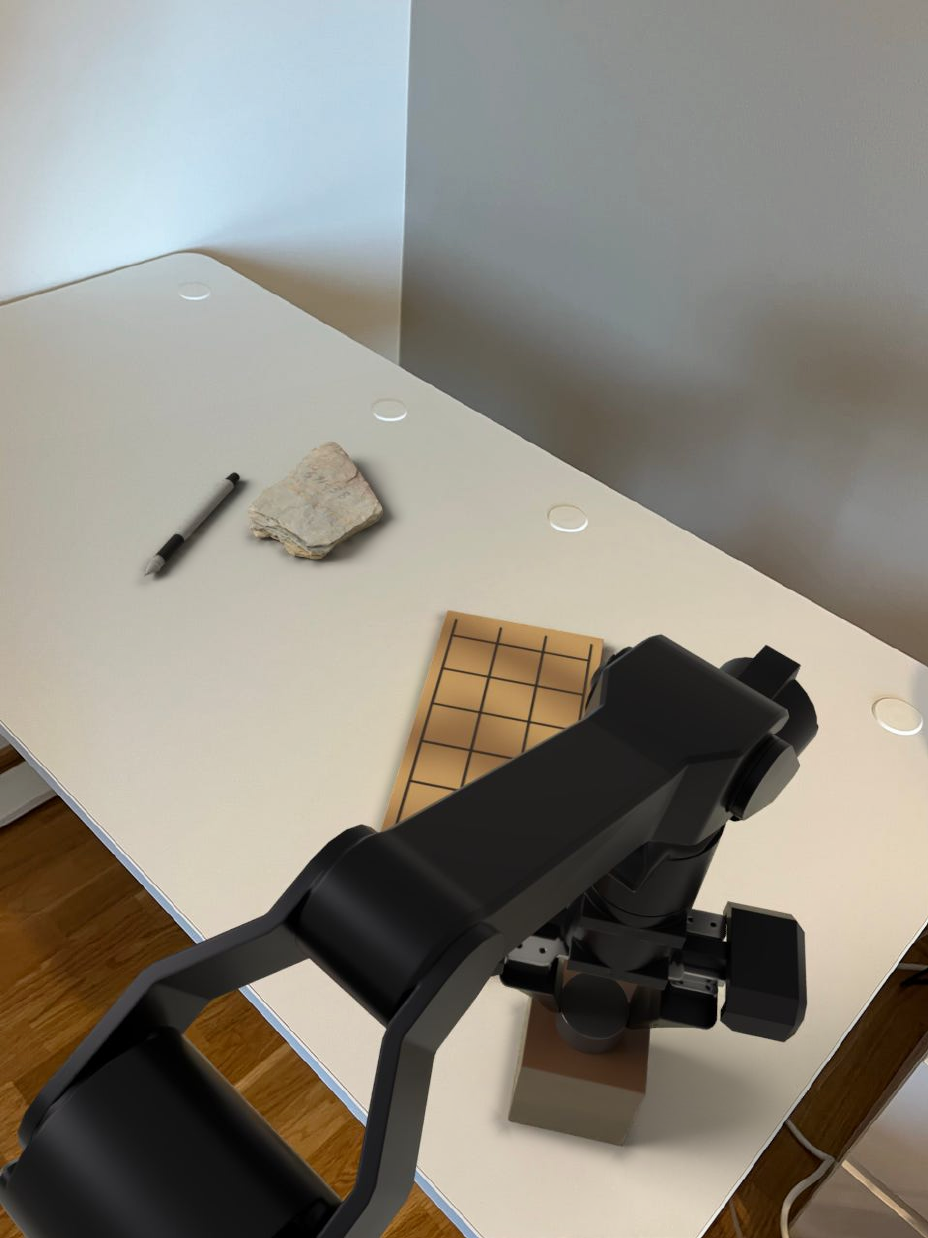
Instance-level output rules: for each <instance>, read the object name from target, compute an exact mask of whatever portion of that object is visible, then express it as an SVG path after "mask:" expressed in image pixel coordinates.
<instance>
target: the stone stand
mask: <svg viewBox="0 0 928 1238" xmlns="http://www.w3.org/2000/svg"><path fill="white" fill-rule="evenodd" d="M567 964H568V959H564V979H563V986H564V985H565V983H566V982H567V981H568V980H569V979H570V978H572V977H573V976H575V975H577V974H579V973H581V972H576V971H571V970H567ZM615 981H617V982H618V983H619V984H620V985H621V987H622V988H623V989H624V991H625V993H626V995H627V997H628V1000H629V1004H630V1000H631V997H632V995H633V993H634V991H635V989H636V987H637V984H632V983H627V982H623V981H618V980H615ZM562 988H563V987H562ZM520 1035H521V1036H520V1041H519V1048H518V1054H517V1059H516V1067H515V1072H514V1077H513V1083H512V1084H513V1085H512V1090H511V1096H510V1103H509V1108H508V1114H507V1115H508V1116H507V1120H508V1121H510V1122H514V1123H518V1124H523V1125H527V1126H532V1127H537V1128H541V1129H544V1130H548V1131H549V1130H550V1131H553V1132H558V1133H562V1134H567V1135H570V1136H575V1137H579V1138H585V1139H589V1140H593V1141H597V1142H602V1143H606V1144H610V1145H614V1146H619V1147H622V1145H623V1143H624V1141H625V1139H626V1137H627V1134H628V1132H629V1130H630V1128H631V1127H632V1124H633V1121H634V1120H635V1118H636V1115H637V1113H638V1111H639V1108H640V1107H641V1105H642V1102H643V1100H644V1098H645V1095H646V1093H647V1080H648V1068H649V1056H650V1055H649V1053H650V1041H651V1029H636V1030H631V1029H627V1028H626V1027H625V1030H624V1032H623V1035H622V1037H621V1039H620V1041H619V1042H618V1043H617V1045H616V1046H615V1047H613V1048H612V1049H610V1050H609V1051H607V1052H604V1053H600V1054H587V1053H583V1052H580V1051H578V1050H576V1049H574V1048H572V1047H571V1046H570V1045H568V1044H567V1043H566V1042H565V1040H564V1039H563V1038H562V1037H561V1035H560V1033H559V1031H558V1029H557V1026H556V1021H555V1013H553V1012H550V1011H549V1010H548V1009H546V1008H545V1007H544V1006H543V1005H541V1004H540V1003H539V1002H537V1001H536V1000H534V999H533V998H531V997H529V996H528V999H527V1003H526V1007H525V1011H524V1017H523V1024H522V1028H521V1034H520Z"/></svg>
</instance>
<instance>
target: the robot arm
mask: <svg viewBox="0 0 928 1238" xmlns="http://www.w3.org/2000/svg"><path fill="white" fill-rule="evenodd" d="M801 667H802V664H801V663H799V662H797V661H796V660H793V659H792V658H790V657H788V656H787V655H785V654H783V653H782V652H780V651H778V650H776V649H775V648H773V647H771V646H770V645H769V644H765V645H764V646H763V647H761V649H760V650H759V651H758V652H757V653H756V654H755V655H754V657H750V656H742V657H734V658H732V659H729V660H728V661H725V662H724V663H723V664H722V665H721V666H720V667H717V666H715V665H714V664H712V663H710V662H709V661H707V660H705V659H704V658H702V657H701V656H699V655H697V654H696V653H694V652H692V651H691V650H689V649H688V648H685V647H684V646H682V645H681V644H678V643H677V642H675V641H674V640H672V639H671V638H669V637H668V636H666V635H664V634H662V633H659V634H655V635H652V636H649V637H647V638H645V639H643V640H642V641H640V642H638V644H636V645H634V646H633V647H632V646H630V645H629V646H626V647H623V648H622V649H621V650H620V651H618V652H617V653H616V654H615V653H613V654H611V655H610V657H609V658H608V659H607V661H606V662H602V664H601V663H600V666H599V667H598V668H597V670H596V671H595V673H594V674H593V676H592V678H591V681H590V690H591V691H590V693H589V695H588V698H587V701H586V705H585V714H584V716H583V718H582V719H581V720H579V721H577V722H576V723H574V724H572V725H570V726H569V727H567V728H565V729H563V730H562V731H560V732H558V733H556V734H554V735H553V736H551V737H549V738H547V739H546V740H544V741H542V742H540V743H539V744H537V745H535V746H533V747H531V748H530V749H528V750H526V751H524V752H523V753H521V754H519V755H517V756H515V757H514V758H512V759H510V760H508V761H507V762H505V763H503V764H501V765H500V766H498V767H496V768H494V769H492V770H491V771H489V772H487V773H485V774H484V775H482V776H480V777H478V778H477V779H475V780H473V781H471V782H469V783H468V784H466V785H464V786H462V787H461V788H459V789H457V790H455V791H454V792H452V793H450V794H448V795H446V796H445V797H443V798H441V799H439V800H438V801H436V802H434V803H432V804H430V805H429V806H427V807H425V808H423V809H422V810H420V811H418V812H416V813H415V814H413V815H411V816H409V817H407V818H406V819H404V820H402V821H400V822H399V823H397V824H395V825H393V826H392V827H390V828H388V829H386V830H383V831H381V830H380V831H381V832H380V831H377V830H376V829H374V828H373V827H372V826H369V825H366V824H363V823H361V824H357V825H355V826H351V827H349V828H346V829H345V830H343V831H341V832H340V833H339V834H338V835H336V836H335V837H333V838H332V839H330V840H329V841H328V842H327V843H326V844H325V845H324V846H323V847H322V848H321V849H320V850H319V851H318V852H317V853H316V854H315V855H314V856H313V857H312V858H311V859H310V860H309V861H308V862H307V864H306V866H304V867H303V869H302V870H301V871H300V872H299V874H298V875H297V876H296V877H295V878H294V880H293V881H292V882H291V883H290V884H289V885H288V887H287V888H286V889H285V890H284V892H283V893H282V894H281V895H280V897H278V899H277V900H276V901H275V903H274V904H273V905H272V906H271V907H270V909H269V910H268V911H267V912H265V913H264V914H262V915H260V916H258V917H256V918H254V919H251V920H249V921H247V922H244V923H242V924H240V925H237V926H235V927H233V928H230V929H227V930H225V931H223V932H221V933H218V934H216V935H214V936H212V937H208V938H207V939H205V940H203V941H200V942H198V943H195V944H192V945H191V946H188V947H186V948H183V949H181V950H179V951H176V952H174V953H172V954H170V955H167V956H165V957H162V958H160V959H158V960H156V961H154V962H151V964H150V965H148V966H146V968H144V969H143V970H142V971H141V972H139V974H138V975H137V976H136V977H135V978H134V980H132V982H131V983H130V984H129V986H127V987H126V989H125V990H124V991H123V992H122V993H121V995H120V996H119V997H118V998H117V1000H116V1001H115V1002H114V1003H113V1004H112V1005H111V1007H110V1008H109V1009H108V1010H107V1011H106V1013H104V1015H103V1016H102V1017H101V1018H100V1020H98V1022H97V1023H96V1024H95V1025H94V1026H93V1028H92V1029H91V1030H90V1032H88V1034H86V1036H85V1037H84V1038H83V1039H82V1041H81V1042H80V1043H79V1044H78V1045H77V1046H76V1048H75V1049H74V1050H73V1051H72V1053H71V1054H70V1055H69V1056H68V1057H67V1058H66V1059H65V1061H64V1062H63V1063H62V1064H61V1065H60V1066H59V1068H58V1069H57V1070H56V1071H55V1073H54V1074H52V1076H51V1077H50V1078H49V1080H48V1081H47V1082H46V1083H45V1084H44V1085H43V1087H42V1088H41V1089H40V1090H39V1092H38V1093H37V1095H36V1096H35V1098H34V1099H33V1100H32V1102H31V1103H30V1105H29V1106H28V1108H27V1109H26V1110H25V1112H24V1114H23V1116H22V1119H21V1122H20V1124H19V1127H18V1128H17V1129H18V1130H17V1140H18V1146H19V1148H21V1150H22V1152H21V1154H20V1156H18V1157H16V1158H14V1159H12V1160H10V1161H9V1162H7V1163H5V1164H4V1165H3V1167H1V1169H0V1205H1V1207H2V1208H3V1210H4V1212H5V1213H6V1214H7V1215H8V1216H9V1217H10V1219H11V1220H12V1222H13V1223H14V1224H15V1226H16V1227H17V1229H18V1230H19V1231H20V1232H21V1234H22V1235H23V1236H24V1237H25V1238H381V1237H382V1236H383V1234H384V1233H385V1231H386V1230H387V1229H388V1227H389V1226H390V1224H391V1223H392V1222H393V1220H394V1219H395V1218H396V1216H397V1215H398V1214H399V1212H400V1210H402V1208H403V1207H404V1206H405V1204H406V1203H407V1201H408V1199H409V1196H410V1194H411V1191H412V1189H413V1188H414V1183H415V1177H416V1171H417V1166H418V1161H419V1154H420V1148H421V1141H422V1135H423V1129H424V1123H425V1117H426V1113H427V1106H428V1101H429V1094H430V1087H431V1081H432V1075H433V1069H434V1064H435V1063H434V1062H435V1057H436V1054H437V1052H438V1050H439V1048H440V1047H441V1046H442V1044H443V1043H444V1042H445V1041H446V1039H447V1038H448V1036H449V1035H450V1033H451V1032H453V1030H454V1028H455V1027H456V1026H457V1024H458V1023H459V1022H460V1021H461V1019H462V1017H463V1016H464V1015H465V1014H466V1012H467V1011H468V1010H469V1009H470V1007H471V1006H472V1005H473V1003H474V1002H475V1000H476V999H477V998H478V997H479V994H480V993H481V992H482V990H483V989H484V987H485V986H486V984H487V983H488V982H489V980H490V978H492V977H495V976H498V979H499V981H500V983H501V984H502V985H503V986H504V987H506V988H508V989H514V990H517V991H519V992H521V993H522V994H524V995H526V996H527V997H528V998H529V997H531V998H533V999H534V1000H536V1001H537V1002H539V1003H540V1004H541V1005H543V1006H544V1007H545V1008H546V1009H548V1010H549V1011H550V1012H553V1013H558V1011H559V1009H560V1002H561V994H562V987H563V979H564V959H568V964H567V970H571V971H576V972H581V973H585V974H590V975H595V976H599V977H604V978H609V979H613V980H618V981H623V982H627V983H632V984H637V987H636V989H635V991H634V993H633V995H632V997H631V1000H630V1008H629V1019H628V1022H627V1024H626V1028H627V1029H631V1030H636V1029H650V1030H651V1029H699V1030H702V1031H708V1030H711V1029H713V1028H714V1027H715V1025H716V1024H717V1021H718V1007H719V1005H718V1004H719V988H724V1002H723V1004H722V1006H721V1008H720V1009H719V1010H720V1012H719V1014H720V1015H719V1017H720V1018H719V1021H720V1022H721V1024H723V1025H724V1026H725V1027H726V1028H727V1029H729V1030H730V1031H731V1032H734V1033H738V1034H742V1035H746V1036H747V1035H748V1036H752V1037H756V1038H760V1039H761V1038H762V1039H766V1040H771V1041H775V1042H780V1043H786V1042H787V1041H788V1040H789V1039H790V1038H792V1037H794V1036H795V1035H796V1034H797V1032H798V1030H799V1029H800V1027H801V1026H802V1024H803V1022H804V1021H805V1017H806V1012H807V1007H808V987H807V960H806V959H807V958H806V932H805V930H804V929H803V928H802V926H801V924H800V923H799V922H798V920H797V919H796V918H795V917H794V916H793V914H792V913H788V912H783V911H778V910H773V909H769V908H765V907H764V908H763V907H758V906H754V905H748V904H745V903H739V902H734V901H729V900H727V901H726V904H725V906H724V908H723V910H722V914H721V913H715V912H710V911H706V910H700V909H697V908H694V905H695V903H696V899H697V898H698V894H699V893H700V890H701V889H702V885H703V883H704V881H705V879H706V876H707V873H708V871H709V869H710V866H711V864H712V861H713V859H714V856H715V855H716V852H717V849H718V847H719V844H720V842H721V839H722V837H723V834H724V831H725V828H726V825H727V822H728V821H731V822H733V823H736V822H740V821H742V822H744V821H747V820H748V819H749V818H751V817H753V816H754V815H756V814H757V813H758V812H760V811H762V810H763V809H765V808H766V807H768V806H770V805H771V804H773V803H774V802H775V801H776V799H777V798H778V797H779V795H781V793H782V792H783V791H784V789H785V788H786V787H787V786H788V785H789V783H790V782H791V781H792V780H793V778H794V777H795V776H796V774H797V773H798V772H799V769H800V767H801V763H800V761H799V759H798V758H799V757H800V756H801V755H802V753H803V752H804V751H805V750H806V748H807V747H808V746H809V745H810V744H811V743H812V741H813V740H814V739H815V737H816V736H817V734H818V731H819V728H820V727H819V724H818V716H817V712H816V709H815V705H814V703H813V701H812V699H811V698H810V695H809V694H808V692H807V691H806V689H805V688H804V687H803V686H802V685H801V683H800V682H799V681H798V680H797V676H798V674H799V672H800V670H801ZM306 960H310V961H312V962H313V964H315V965H316V966H317V967H318V968H319V969H320V970H321V971H322V972H324V973H325V974H326V975H327V977H329V978H330V979H331V980H332V981H333V982H334V983H336V985H338V987H340V988H341V989H342V990H343V991H344V992H345V993H346V994H347V995H348V996H349V997H351V998H352V999H353V1000H354V1001H355V1002H356V1003H357V1004H358V1005H359V1006H361V1008H363V1009H364V1010H365V1012H367V1014H369V1015H370V1016H371V1017H373V1018H374V1019H375V1020H376V1021H377V1022H378V1023H379V1024H380V1025H382V1027H383V1028H384V1029H385V1031H384V1032H383V1033H384V1034H383V1035H382V1037H381V1042H380V1047H379V1052H378V1057H377V1064H376V1069H375V1075H374V1079H373V1085H372V1091H371V1095H370V1097H371V1098H370V1102H369V1106H368V1112H367V1118H366V1123H365V1128H364V1133H363V1139H362V1143H361V1150H360V1155H359V1161H358V1165H357V1172H356V1177H355V1182H354V1184H353V1186H352V1189H351V1190H350V1191H349V1193H348V1194H347V1196H345V1198H344V1199H343V1198H342V1197H341V1196H340V1195H339V1194H338V1193H337V1192H336V1191H335V1190H334V1189H333V1188H332V1187H331V1185H329V1184H328V1183H327V1182H326V1181H325V1180H324V1178H323V1177H322V1176H321V1175H319V1173H318V1172H317V1171H315V1169H314V1168H313V1167H312V1166H311V1165H310V1164H309V1163H308V1162H307V1161H306V1160H305V1159H304V1158H303V1157H302V1156H301V1154H300V1153H298V1151H296V1150H295V1148H294V1147H292V1145H291V1144H290V1143H289V1142H288V1141H287V1140H286V1139H285V1138H284V1137H283V1136H282V1135H281V1134H280V1133H279V1132H278V1131H277V1129H275V1128H274V1127H273V1125H272V1124H271V1123H270V1122H268V1120H266V1118H265V1117H264V1116H263V1115H262V1114H261V1113H260V1112H259V1111H258V1109H256V1108H255V1107H254V1106H253V1105H252V1104H251V1103H250V1102H249V1101H248V1099H247V1098H246V1097H245V1096H244V1095H243V1094H242V1093H241V1092H240V1091H239V1090H238V1089H237V1088H236V1086H234V1085H233V1084H232V1083H231V1082H230V1081H229V1080H228V1079H227V1078H226V1077H225V1075H224V1074H222V1073H221V1072H220V1070H219V1069H218V1068H217V1067H216V1066H215V1065H214V1064H213V1063H212V1062H211V1061H210V1060H209V1059H208V1058H207V1057H206V1055H204V1054H203V1053H202V1052H201V1051H200V1049H198V1048H197V1047H196V1045H194V1043H193V1042H192V1041H191V1040H190V1039H189V1038H188V1037H187V1036H186V1035H185V1034H184V1033H186V1032H187V1030H188V1029H189V1028H190V1027H191V1025H192V1024H193V1023H194V1022H195V1020H196V1019H197V1018H198V1017H199V1016H200V1014H201V1013H202V1012H203V1010H204V1009H205V1008H206V1007H207V1006H208V1005H209V1003H211V1002H212V1001H213V1000H215V999H216V1000H217V999H218V998H220V997H222V996H225V995H228V994H229V993H233V992H234V991H237V990H239V989H241V988H244V987H245V986H248V985H250V984H252V983H255V982H257V981H260V980H263V979H264V978H268V977H269V976H272V975H273V974H276V973H279V972H281V971H283V970H285V969H288V968H290V967H293V966H295V965H296V964H300V963H302V962H304V961H306Z"/></svg>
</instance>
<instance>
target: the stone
mask: <svg viewBox="0 0 928 1238" xmlns="http://www.w3.org/2000/svg"><path fill="white" fill-rule="evenodd" d="M246 513H247V515H248V517H249V519H251V520H250V526H249V528H250V530H253V536H254V537H255V538H256V539H262V538H268V537H271V538H272V539H274V540H277V541H279V542H280V544H282V545H284V547H285V550H286V552H288V553H289V554H290V555H291V556H292V557H293V556H294V557H302V558H305V559H306V558H307V559H312V560H321V559H323V558H324V557H325V556H326V555H327V554H328V553H330V552H331V550H333V549H334V547H337V546H339V545H340V544H342V543H343V542H345V541H346V540H347V539H349V538H350V537H352V536H353V535H355V534H357V533H359V532H361V531H363V530H365V529H367V528H369V527H371V526H373V525H374V524H376V523H378V522H380V520H381V517H383V513H384V511H383V507H382V505H381V503H380V502H379V499H378V498H377V496H376V494H375V492H374V491H373V490H372V489H371V487H370V484H369V483H368V481H366V479H365V478H364V477H363V475H362V473H361V472H360V470H359V469H358V468H357V465H355V463H354V462H353V460H352V459H351V458H350V456H349V454H348V453H347V452H346V451H345V449H343V447H342V446H341V445H340V444H339V443H338V442H336V441H327V442H325V443H323V444H321V445H320V446H318V447H313V448H312V449H311V450H309V451H308V452H307V453H306V455H305V456H304V458H303V459H302V460H301V461H300V462H298V463H297V464H296V465H295V466H294V467H293V469H292V470H291V471H290V472H289V473H288V474H287V475H286V476H285V477H284V478H283V479H281V480H279V481H278V482H276V483H274V484H273V485H271V486H269V487H266V488H265V489H263V490H262V491H261V492H260V494H259V496H258V497H257V499H256V500H254V501H253V502H252V503H251V504H250V506H249V507H248V508H247V510H246Z"/></svg>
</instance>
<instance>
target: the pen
mask: <svg viewBox="0 0 928 1238" xmlns="http://www.w3.org/2000/svg"><path fill="white" fill-rule="evenodd" d="M240 478H241V476H240V474H239V473H237V472H234V471H233V472H231V473H230V474H229V475H228V476H227V477H226V478H225V479H222V481H221V483H220V484H219V485H217V487H216V488H215V489H214V490H213V491H212V492H211V494H209V496H207V498H206V499H205V500H204V501H203V502H202V503H201V504H200V506H199V507H197V509H196V510H195V511H194V512H193V513H192V515H190V517H189V518H188V519H187V520H186V521H185V522H184V523H183V524H182V526H181V527H179V528H178V530H177V531H176V532H175V533H174V534H173V535H172V536H171V537H170V538H169V539H168V540H167V541H166V542H165V544H164V545H163V546H162V547H160V549H159V550H158V551H157V552H156V553H155V554H154V555H153V556H152V558H151V559H149V560H147V566H146V569H145V572H144V576H149V575H151V574H154V573H156V572H157V573H159V572H160V571H161V568H162V567H164V565H165V564H167V562H168V561H169V560H170V558H171V557H173V556H174V554H175V553H176V552H177V551H178V549H179V548H181V547H182V545H183V544H184V543H185V542H186V541H187V539H188V538H189V537H190V536H191V535H192V534H193V533H194V532H195V531H196V530H197V529H198V527H199V526H200V525H201V524H202V523H203V522H204V521H205V520H206V519H207V518H208V517H209V516H210V514H211V513H212V512H213V511H214V510H215V509H216V508H217V507H218V505H219V504H220V503H221V502H222V501H223V500H224V499H225V498H226V497H227V496H228V495H229V494H230V493H231V491H233V490H234V488H235V487H236V485H238V482H239V480H240Z"/></svg>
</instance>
